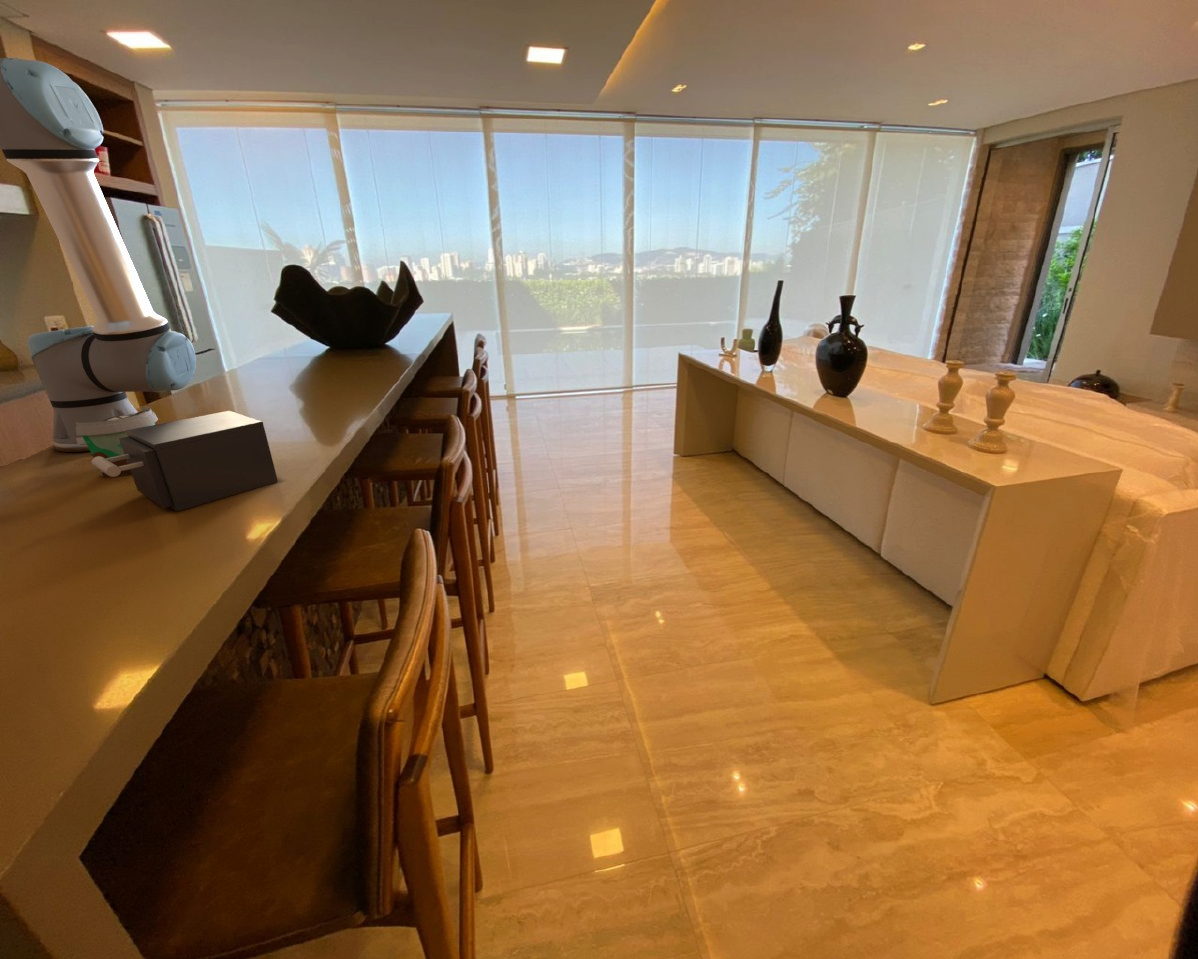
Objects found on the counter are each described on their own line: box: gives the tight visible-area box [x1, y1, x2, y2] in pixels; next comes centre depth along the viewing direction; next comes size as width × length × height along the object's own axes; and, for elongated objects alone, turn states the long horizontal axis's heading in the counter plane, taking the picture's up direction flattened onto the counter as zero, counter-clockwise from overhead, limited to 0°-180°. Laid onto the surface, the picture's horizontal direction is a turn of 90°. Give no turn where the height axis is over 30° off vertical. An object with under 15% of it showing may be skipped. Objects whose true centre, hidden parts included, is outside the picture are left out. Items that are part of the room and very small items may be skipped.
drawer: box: [91, 437, 173, 509], centre depth 83 cm, size 18×11×9 cm, turn 144°
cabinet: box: [126, 410, 279, 513], centre depth 86 cm, size 15×13×11 cm
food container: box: [76, 406, 159, 477], centre depth 95 cm, size 12×6×10 cm, turn 168°
